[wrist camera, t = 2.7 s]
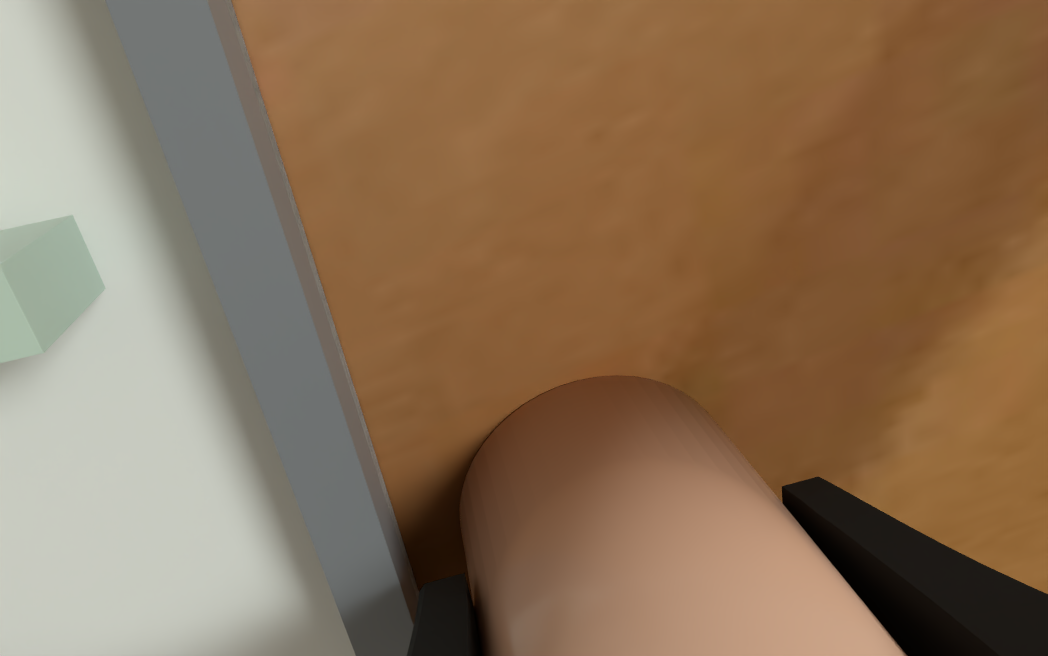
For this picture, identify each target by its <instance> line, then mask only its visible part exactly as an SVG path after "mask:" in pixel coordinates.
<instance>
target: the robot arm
mask: <svg viewBox="0 0 1048 656" xmlns="http://www.w3.org/2000/svg"><path fill="white" fill-rule="evenodd" d="M782 500H783V505H784V506H785V507H786V508H787V510H788V511H789V512H790V513H791V515H792V516H793V517H794V518H795V519H796V521H797V522H798V523H799V524H800V525H801V527H802V528H803V529H804V530H805V532H806V533H807V534H808V535H809V536H810V538H811V539H812V540H813V541H814V543H815V544H816V545H817V546H818V547H819V549H820V550H821V551H822V552H823V554H824V555H825V556H826V557H827V558H828V560H829V561H830V562H831V563H832V564H833V566H834V567H835V568H836V569H837V571H838V572H839V573H840V574H841V575H842V577H843V578H844V579H845V580H846V582H847V583H848V584H849V585H850V586H851V588H852V589H853V590H854V591H855V593H856V594H857V595H858V596H859V597H860V599H861V600H862V601H863V602H864V603H865V605H866V606H867V607H868V608H869V610H870V611H871V612H872V613H873V614H874V616H875V617H876V618H877V619H878V621H879V622H880V623H881V624H882V625H883V627H884V628H885V629H886V630H887V632H888V633H889V634H890V635H891V636H892V638H893V639H894V640H895V641H896V642H897V644H898V645H899V646H900V647H901V649H902V650H903V651H904V652H905V653H906V655H907V656H1048V594H1046V593H1044V592H1041V591H1039V590H1037V589H1034V588H1032V587H1030V586H1028V585H1026V584H1024V583H1021V582H1019V581H1017V580H1015V579H1013V578H1011V577H1009V576H1006V575H1004V574H1002V573H1000V572H998V571H996V570H994V569H991V568H989V567H987V566H985V565H983V564H981V563H979V562H977V561H975V560H973V559H971V558H969V557H967V556H965V555H963V554H961V553H959V552H957V551H955V550H953V549H951V548H949V547H947V546H945V545H943V544H941V543H939V542H937V541H936V540H934V539H932V538H930V537H928V536H926V535H924V534H922V533H920V532H919V531H917V530H915V529H913V528H911V527H909V526H907V525H906V524H904V523H902V522H900V521H898V520H896V519H895V518H893V517H891V516H889V515H887V514H886V513H884V512H882V511H880V510H878V509H877V508H875V507H873V506H871V505H869V504H868V503H866V502H864V501H862V500H860V499H859V498H857V497H855V496H853V495H851V494H850V493H848V492H846V491H844V490H842V489H841V488H839V487H837V486H835V485H833V484H832V483H830V482H828V481H826V480H824V479H822V478H820V477H815V478H811V479H808V480H804V481H800V482H797V483H793V484H789V485H786V486H782ZM407 656H482V654H481V648H480V642H479V636H478V630H477V623H476V617H475V611H474V606H473V602H472V599H471V595H470V592H469V588H468V584H467V581H466V577H465V574H464V573H463V574H459V575H455V576H452V577H448V578H444V579H441V580H437V581H433V582H430V583H426V584H424V586H423V587H422V588H421V590H420V591H419V597H418V605H417V611H416V616H415V622H414V627H413V631H412V636H411V640H410V644H409V648H408V652H407Z"/></svg>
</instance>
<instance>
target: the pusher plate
mask: <svg viewBox="0 0 1048 656" xmlns="http://www.w3.org/2000/svg"><path fill="white" fill-rule="evenodd" d="M105 289H106V288H105V286H104V283H103V281H102V279H101V277H100V275H99V272H98V270H97V268H96V266H95V263H94V261H93V259H92V257H91V255H90V252H89V250H88V248H87V246H86V243H85V241H84V239H83V237H82V234H81V232H80V230H79V228H78V226H77V223H76V221H75V219H74V217H73V215H69V216H64V217H60V218H55V219H51V220H46V221H41V222H37V223H32V224H28V225H23V226H18V227H14V228H9V229H5V230H0V363H3V362H7V361H12V360H16V359H20V358H25V357H29V356H33V355H37V354H42V353H44V352H45V351H46V350H47V349H48V348H49V347H50V346H51V345H52V344H53V343H54V342H55V341H56V340H57V339H58V338H59V337H60V336H61V335H62V334H63V333H64V332H65V331H66V330H67V328H68V327H69V326H70V325H71V324H72V323H73V322H74V321H75V320H76V319H77V318H78V317H79V316H80V315H81V314H82V313H83V312H84V311H85V310H86V309H87V308H88V307H89V306H90V305H91V304H92V302H93V301H94V300H95V299H96V298H97V297H98V296H99V295H100V294H101V293H102V292H103V291H104V290H105Z"/></svg>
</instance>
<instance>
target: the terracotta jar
mask: <svg viewBox="0 0 1048 656" xmlns="http://www.w3.org/2000/svg"><path fill="white" fill-rule="evenodd" d="M460 526H461V532H462V538H463V544H464V550H465V557H466V563H467V569H468V575H469V581H470V587H471V593H472V599H473V605H474V611H475V617H476V623H477V630H478V636H479V642H480V648H481V654H482V656H907V655H906V653H905V652H904V651H903V650H902V649H901V647H900V646H899V645H898V644H897V642H896V641H895V640H894V639H893V638H892V636H891V635H890V634H889V633H888V632H887V630H886V629H885V628H884V627H883V625H882V624H881V623H880V622H879V621H878V619H877V618H876V617H875V616H874V614H873V613H872V612H871V611H870V610H869V608H868V607H867V606H866V605H865V603H864V602H863V601H862V600H861V599H860V597H859V596H858V595H857V594H856V593H855V591H854V590H853V589H852V588H851V586H850V585H849V584H848V583H847V582H846V580H845V579H844V578H843V577H842V575H841V574H840V573H839V572H838V571H837V569H836V568H835V567H834V566H833V564H832V563H831V562H830V561H829V560H828V558H827V557H826V556H825V555H824V554H823V552H822V551H821V550H820V549H819V547H818V546H817V545H816V544H815V543H814V541H813V540H812V539H811V538H810V536H809V535H808V534H807V533H806V532H805V530H804V529H803V528H802V527H801V525H800V524H799V523H798V522H797V521H796V519H795V518H794V517H793V516H792V515H791V513H790V512H789V511H788V510H787V508H786V507H785V506H784V505H783V504H782V502H781V501H780V500H779V499H778V497H777V496H776V495H775V494H774V493H773V491H772V490H771V489H770V488H769V486H768V485H767V484H766V483H765V482H764V480H763V479H762V478H761V477H760V476H759V474H758V473H757V472H756V471H755V469H754V468H753V467H752V466H751V465H750V463H749V462H748V461H747V460H746V458H745V457H744V456H743V455H742V454H741V452H740V451H739V450H738V449H737V447H736V446H735V445H734V444H733V443H732V441H731V440H730V439H729V438H728V437H727V435H726V434H725V433H724V432H723V430H722V429H721V428H720V427H719V426H718V424H717V423H716V422H715V421H714V419H713V418H712V417H711V416H710V415H709V413H708V412H707V411H706V410H705V409H704V408H703V407H702V406H701V405H700V404H698V403H697V402H696V401H695V400H694V399H692V398H691V397H689V396H688V395H686V394H685V393H683V392H682V391H679V390H677V389H675V388H673V387H671V386H669V385H667V384H664V383H661V382H658V381H655V380H651V379H646V378H640V377H635V376H602V377H594V378H588V379H583V380H578V381H575V382H572V383H568V384H565V385H562V386H559V387H557V388H554V389H552V390H550V391H548V392H545V393H543V394H541V395H539V396H538V397H536V398H534V399H532V400H531V401H529V402H527V403H526V404H524V405H523V406H521V407H520V408H519V409H517V410H516V411H515V412H513V413H512V414H511V415H509V416H508V417H507V418H506V419H505V420H504V421H503V422H502V423H501V424H500V425H499V426H498V427H497V428H496V429H495V430H494V431H493V432H492V433H491V435H490V436H489V437H488V438H487V439H486V441H485V442H484V443H483V445H482V446H481V448H480V449H479V451H478V453H477V454H476V456H475V457H474V459H473V461H472V463H471V466H470V468H469V470H468V472H467V475H466V478H465V481H464V485H463V488H462V492H461V500H460Z"/></svg>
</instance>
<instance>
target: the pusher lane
mask: <svg viewBox="0 0 1048 656" xmlns="http://www.w3.org/2000/svg"><path fill="white" fill-rule="evenodd" d="M69 215H73V217H74V219H75V221H76V223H77V226H78V228H79V230H80V232H81V234H82V237H83V239H84V241H85V243H86V246H87V248H88V250H89V252H90V255H91V257H92V259H93V261H94V263H95V266H96V268H97V270H98V272H99V275H100V277H101V279H102V281H103V283H104V286H105V288H106V289H105V290H104V291H103V292H102V293H101V294H100V295H99V296H98V297H97V298H96V299H95V300H94V301H93V302H92V304H91V305H90V306H89V307H88V308H87V309H86V310H85V311H84V312H83V313H82V314H81V315H80V316H79V317H78V318H77V319H76V320H75V321H74V322H73V323H72V324H71V325H70V326H69V327H68V328H67V330H66V331H65V332H64V333H63V334H62V335H61V336H60V337H59V338H58V339H57V340H56V341H55V342H54V343H53V344H52V345H51V346H50V347H49V348H48V349H47V350H46V351H45V352H44V353H42V354H37V355H33V356H29V357H25V358H20V359H16V360H12V361H7V362H3V363H0V656H407V652H408V648H409V644H410V640H411V636H412V631H413V627H414V622H415V616H416V611H417V605H418V597H419V590H418V587H417V584H416V581H415V577H414V574H413V571H412V568H411V565H410V562H409V559H408V555H407V552H406V549H405V546H404V543H403V540H402V537H401V533H400V530H399V527H398V524H397V521H396V518H395V515H394V511H393V508H392V505H391V502H390V499H389V496H388V493H387V489H386V486H385V483H384V480H383V477H382V474H381V471H380V467H379V464H378V461H377V458H376V455H375V452H374V448H373V445H372V442H371V439H370V436H369V433H368V430H367V426H366V423H365V420H364V417H363V414H362V411H361V408H360V404H359V401H358V398H357V395H356V392H355V389H354V386H353V382H352V379H351V376H350V373H349V370H348V367H347V364H346V360H345V357H344V354H343V351H342V348H341V345H340V342H339V338H338V335H337V332H336V329H335V326H334V323H333V319H332V316H331V313H330V310H329V307H328V304H327V301H326V297H325V294H324V291H323V288H322V285H321V282H320V279H319V275H318V272H317V269H316V266H315V263H314V260H313V257H312V253H311V250H310V247H309V244H308V241H307V238H306V235H305V231H304V228H303V225H302V222H301V219H300V216H299V213H298V209H297V206H296V203H295V200H294V197H293V194H292V190H291V187H290V184H289V181H288V178H287V175H286V172H285V168H284V165H283V162H282V159H281V156H280V153H279V150H278V146H277V143H276V140H275V137H274V134H273V131H272V128H271V124H270V121H269V118H268V115H267V112H266V109H265V106H264V102H263V99H262V96H261V93H260V90H259V87H258V84H257V80H256V77H255V74H254V71H253V68H252V65H251V62H250V58H249V55H248V52H247V49H246V46H245V43H244V39H243V36H242V33H241V30H240V27H239V24H238V21H237V17H236V14H235V11H234V8H233V5H232V2H231V0H0V230H5V229H9V228H14V227H18V226H23V225H28V224H32V223H37V222H41V221H46V220H51V219H55V218H60V217H64V216H69Z"/></svg>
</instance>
